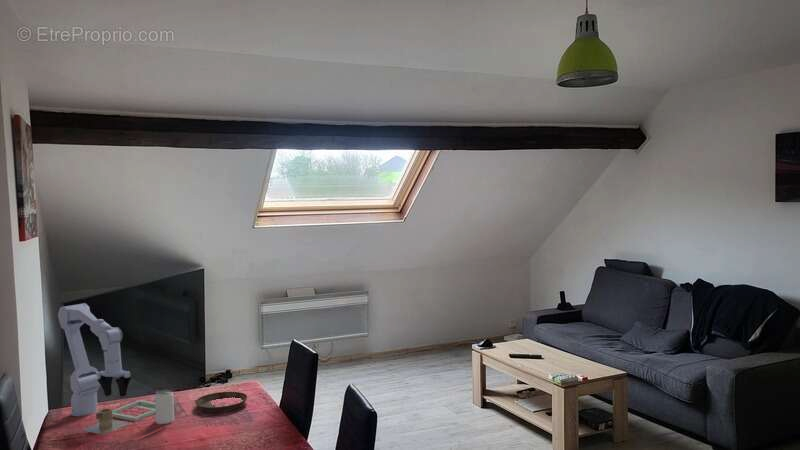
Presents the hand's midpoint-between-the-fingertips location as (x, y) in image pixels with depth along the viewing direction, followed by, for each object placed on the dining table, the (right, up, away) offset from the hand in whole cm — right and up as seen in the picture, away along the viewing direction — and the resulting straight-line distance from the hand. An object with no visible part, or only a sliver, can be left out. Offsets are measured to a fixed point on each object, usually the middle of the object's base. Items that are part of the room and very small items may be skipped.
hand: (115, 395), depth 227 cm
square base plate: (-1, -11, -6) cm, 12 cm away
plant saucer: (+35, -9, +17) cm, 40 cm away
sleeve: (-1, -10, -6) cm, 11 cm away
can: (+19, -10, -1) cm, 22 cm away
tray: (+4, -10, +9) cm, 14 cm away
